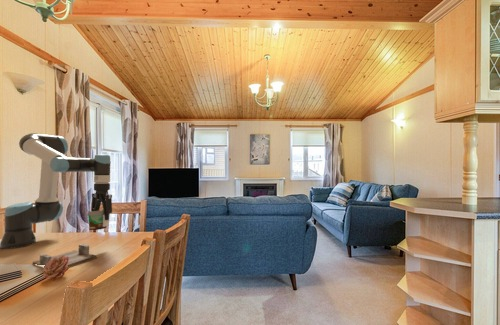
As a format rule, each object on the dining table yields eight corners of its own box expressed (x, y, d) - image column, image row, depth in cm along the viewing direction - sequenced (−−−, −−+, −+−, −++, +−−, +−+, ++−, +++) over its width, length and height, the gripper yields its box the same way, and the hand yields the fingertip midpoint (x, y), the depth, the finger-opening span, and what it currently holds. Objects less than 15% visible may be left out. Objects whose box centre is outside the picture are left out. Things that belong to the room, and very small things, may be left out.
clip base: (32, 264, 114) (32, 253, 114) (74, 252, 130) (74, 242, 130) (55, 271, 106) (55, 259, 106) (96, 257, 122) (96, 247, 122)
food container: (96, 231, 128) (97, 212, 128) (86, 230, 130) (87, 211, 130) (114, 225, 140) (115, 208, 140) (105, 225, 142) (105, 207, 142)
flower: (57, 267, 107) (46, 255, 102) (79, 262, 108) (69, 250, 103) (46, 288, 99) (34, 277, 94) (70, 283, 100) (59, 271, 95)
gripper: (83, 182, 136) (82, 224, 136) (107, 184, 128) (106, 229, 127) (97, 181, 143) (96, 222, 143) (120, 183, 135) (119, 226, 134)
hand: (101, 225), depth 135 cm, fingers closed on food container, 7 cm apart
